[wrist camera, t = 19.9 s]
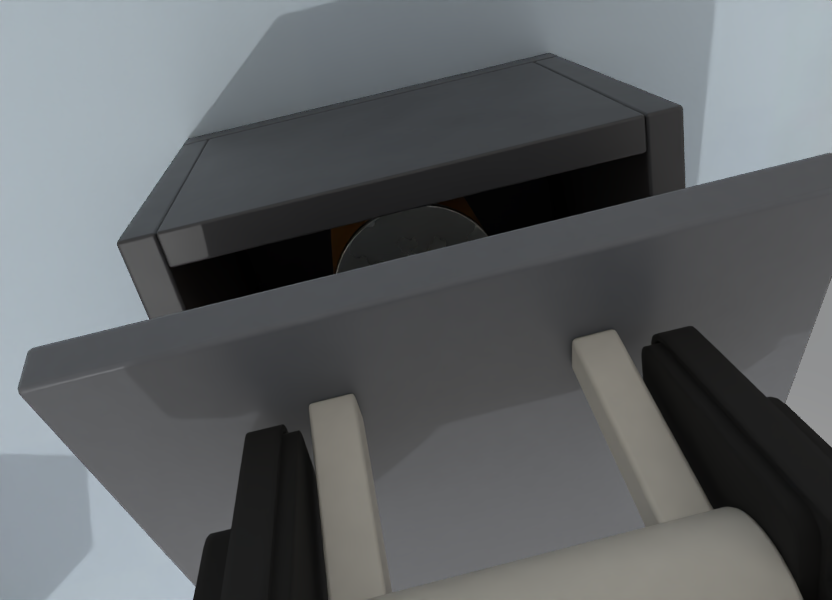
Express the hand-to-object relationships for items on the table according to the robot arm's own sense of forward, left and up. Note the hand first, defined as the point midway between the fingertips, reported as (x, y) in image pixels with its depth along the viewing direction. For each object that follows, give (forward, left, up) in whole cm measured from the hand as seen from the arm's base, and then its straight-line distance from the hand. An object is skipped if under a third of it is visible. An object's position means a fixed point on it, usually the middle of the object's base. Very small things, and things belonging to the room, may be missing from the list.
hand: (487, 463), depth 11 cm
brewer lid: (+4, 0, -3) cm, 5 cm away
